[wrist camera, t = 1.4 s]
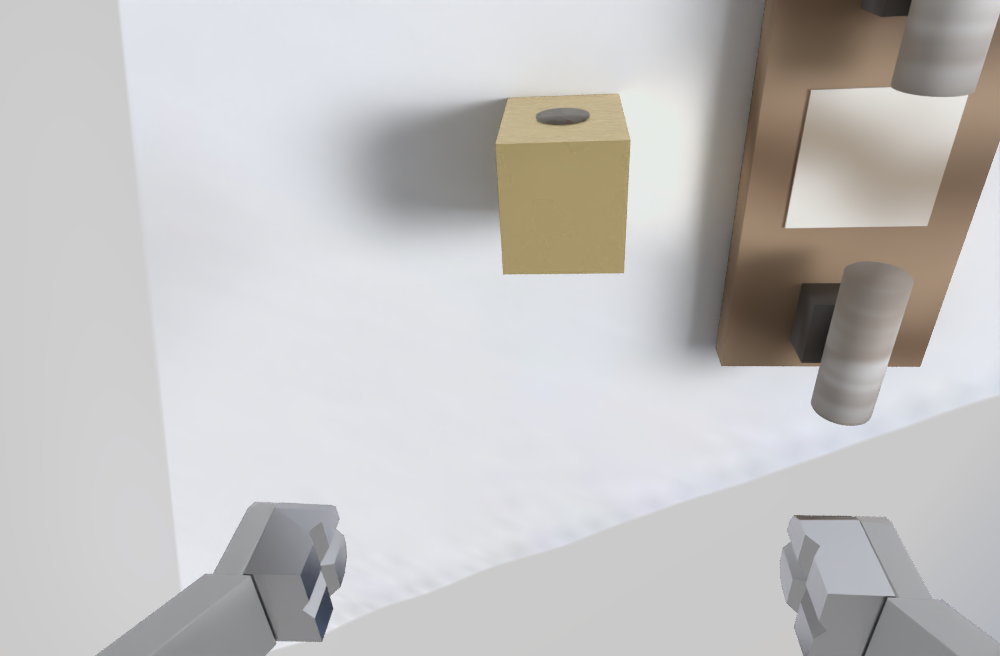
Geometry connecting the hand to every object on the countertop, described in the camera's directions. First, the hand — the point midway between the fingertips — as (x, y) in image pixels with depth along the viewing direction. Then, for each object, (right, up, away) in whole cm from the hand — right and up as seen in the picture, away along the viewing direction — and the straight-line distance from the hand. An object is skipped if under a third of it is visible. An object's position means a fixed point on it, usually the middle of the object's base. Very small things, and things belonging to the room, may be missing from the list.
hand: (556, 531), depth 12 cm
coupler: (+2, +11, +17) cm, 20 cm away
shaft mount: (+14, +11, +15) cm, 23 cm away
